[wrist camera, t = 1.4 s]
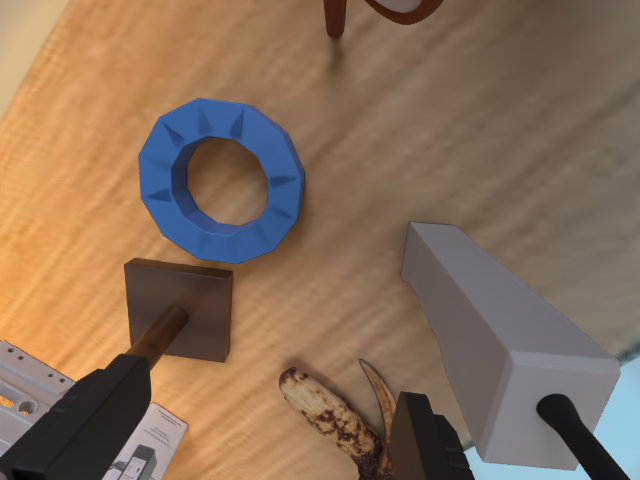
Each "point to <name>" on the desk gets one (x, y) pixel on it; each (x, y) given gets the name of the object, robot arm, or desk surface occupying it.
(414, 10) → the magnifying glass
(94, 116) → the desk surface
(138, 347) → the peg stand
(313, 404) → the lashed bone hook
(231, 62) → the desk surface
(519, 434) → the vintage mobile phone
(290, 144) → the tape roll
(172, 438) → the ink box
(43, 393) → the cassette
